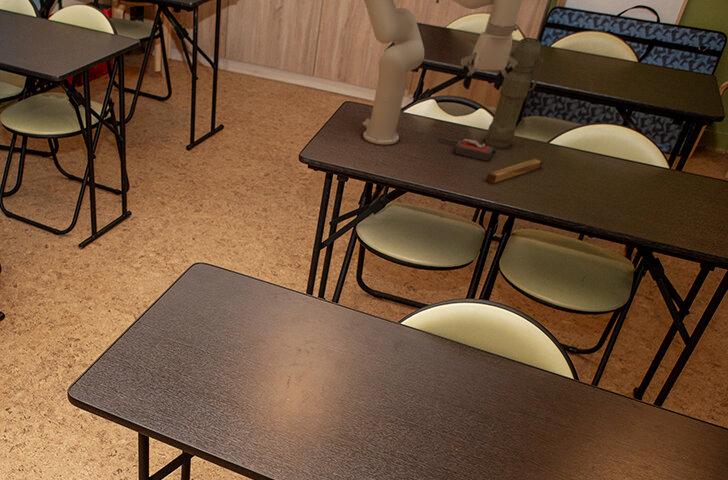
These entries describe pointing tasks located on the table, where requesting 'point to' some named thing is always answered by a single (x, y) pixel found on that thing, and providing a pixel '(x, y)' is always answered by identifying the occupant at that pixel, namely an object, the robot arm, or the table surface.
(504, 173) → the bar
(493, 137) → the thermos
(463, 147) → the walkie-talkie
